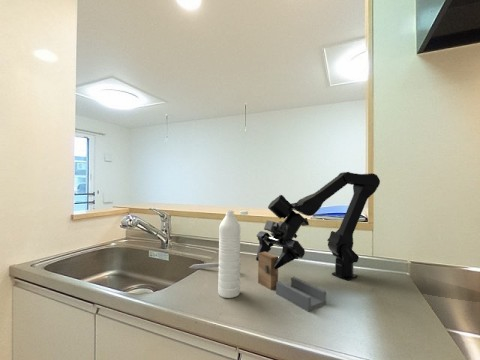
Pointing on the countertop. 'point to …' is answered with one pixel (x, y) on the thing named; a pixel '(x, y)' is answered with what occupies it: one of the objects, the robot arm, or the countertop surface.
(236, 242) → the water bottle
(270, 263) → the door slab
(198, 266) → the caliper
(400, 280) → the countertop surface
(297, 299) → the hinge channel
